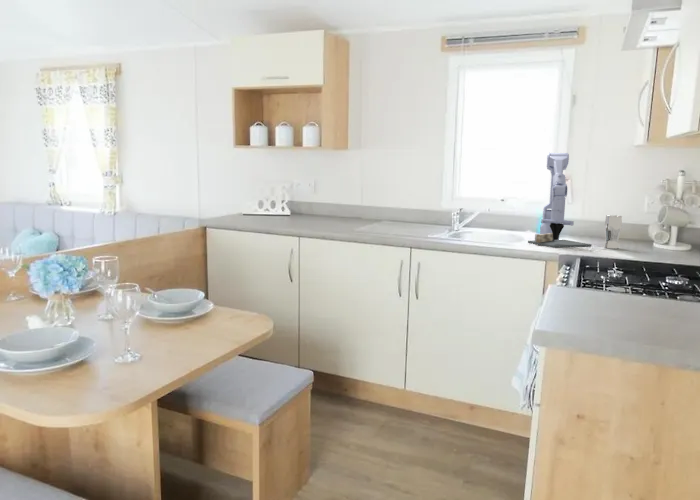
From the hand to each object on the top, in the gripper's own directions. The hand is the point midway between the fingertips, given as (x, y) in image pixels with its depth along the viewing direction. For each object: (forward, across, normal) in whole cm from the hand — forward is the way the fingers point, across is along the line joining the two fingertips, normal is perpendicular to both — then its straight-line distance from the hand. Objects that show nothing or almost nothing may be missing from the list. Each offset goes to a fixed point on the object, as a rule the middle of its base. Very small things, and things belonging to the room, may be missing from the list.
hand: (555, 239), depth 259 cm
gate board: (+3, 0, +5) cm, 6 cm away
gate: (+2, -6, +2) cm, 6 cm away
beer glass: (+3, +21, +12) cm, 25 cm away
